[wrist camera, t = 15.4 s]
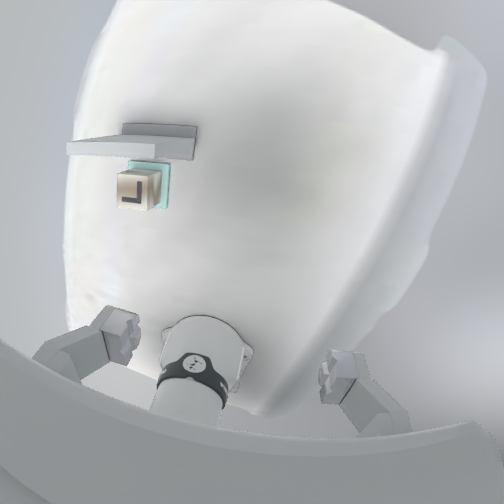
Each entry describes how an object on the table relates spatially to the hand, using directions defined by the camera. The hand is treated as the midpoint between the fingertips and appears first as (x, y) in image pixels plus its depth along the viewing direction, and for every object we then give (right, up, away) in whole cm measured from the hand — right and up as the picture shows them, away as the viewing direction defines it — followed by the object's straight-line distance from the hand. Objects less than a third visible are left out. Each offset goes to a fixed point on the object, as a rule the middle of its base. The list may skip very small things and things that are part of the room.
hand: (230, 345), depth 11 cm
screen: (-13, +21, +26) cm, 36 cm away
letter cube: (-15, +14, +29) cm, 35 cm away
